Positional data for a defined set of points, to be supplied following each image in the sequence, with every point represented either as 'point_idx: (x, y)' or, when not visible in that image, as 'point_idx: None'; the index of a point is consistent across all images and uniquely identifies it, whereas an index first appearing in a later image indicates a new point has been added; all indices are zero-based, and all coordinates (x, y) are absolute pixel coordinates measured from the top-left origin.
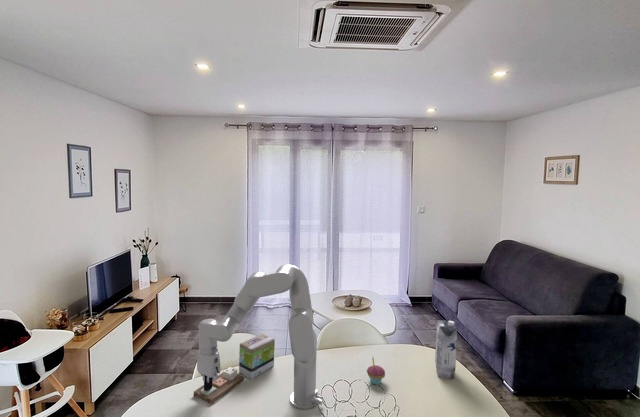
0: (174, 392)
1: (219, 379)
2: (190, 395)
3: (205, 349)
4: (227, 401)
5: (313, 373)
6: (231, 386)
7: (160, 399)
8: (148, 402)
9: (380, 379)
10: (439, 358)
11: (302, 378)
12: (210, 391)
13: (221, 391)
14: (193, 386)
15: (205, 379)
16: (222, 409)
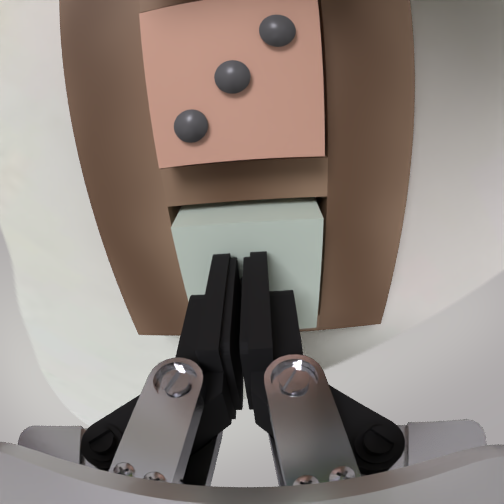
0: (42, 332)
1: (176, 45)
2: (126, 311)
3: None
4: (461, 203)
5: None
6: (406, 34)
7: (70, 383)
8: (69, 402)
9: None
10: None
11: None
12: (306, 297)
13: (389, 190)
14: (34, 234)
15: (219, 428)
16: (465, 281)
